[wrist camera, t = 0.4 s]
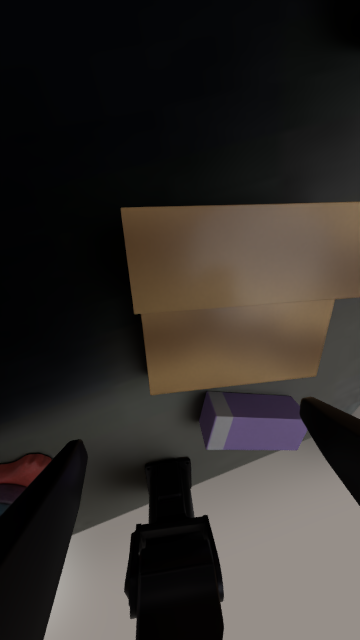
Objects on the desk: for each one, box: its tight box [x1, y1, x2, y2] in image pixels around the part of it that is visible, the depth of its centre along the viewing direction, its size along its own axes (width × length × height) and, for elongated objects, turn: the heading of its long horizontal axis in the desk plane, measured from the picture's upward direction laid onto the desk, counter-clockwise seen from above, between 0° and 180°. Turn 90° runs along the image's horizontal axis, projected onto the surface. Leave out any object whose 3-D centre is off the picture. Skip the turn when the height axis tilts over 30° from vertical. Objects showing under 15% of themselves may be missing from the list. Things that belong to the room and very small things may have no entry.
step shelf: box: [121, 202, 360, 395], centre depth 18 cm, size 16×18×8 cm
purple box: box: [199, 391, 307, 450], centre depth 25 cm, size 5×12×4 cm, turn 80°
